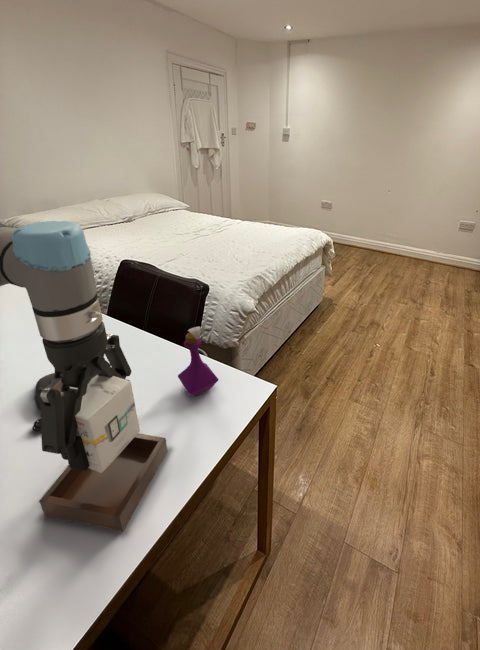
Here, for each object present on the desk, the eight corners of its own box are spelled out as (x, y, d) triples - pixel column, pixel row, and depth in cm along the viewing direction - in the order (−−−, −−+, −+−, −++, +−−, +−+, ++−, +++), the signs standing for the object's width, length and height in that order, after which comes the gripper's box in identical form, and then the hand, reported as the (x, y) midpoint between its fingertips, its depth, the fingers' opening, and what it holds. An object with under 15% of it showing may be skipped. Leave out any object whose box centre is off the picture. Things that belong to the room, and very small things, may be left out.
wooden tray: (44, 515, 53) (38, 501, 52) (103, 440, 66) (100, 426, 65) (123, 531, 52) (119, 516, 50) (167, 451, 65) (165, 437, 63)
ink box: (60, 457, 52) (42, 404, 48) (104, 416, 60) (92, 367, 56) (101, 475, 50) (87, 420, 46) (141, 430, 58) (132, 379, 54)
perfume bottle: (178, 385, 81) (171, 325, 74) (206, 373, 85) (202, 315, 79) (190, 404, 75) (183, 341, 69) (219, 390, 80) (216, 329, 73)
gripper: (28, 387, 36) (71, 513, 44) (142, 295, 56) (157, 393, 64) (-31, 378, 37) (22, 503, 45) (102, 291, 57) (122, 388, 65)
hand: (101, 439), depth 55 cm, fingers closed on ink box, 9 cm apart
